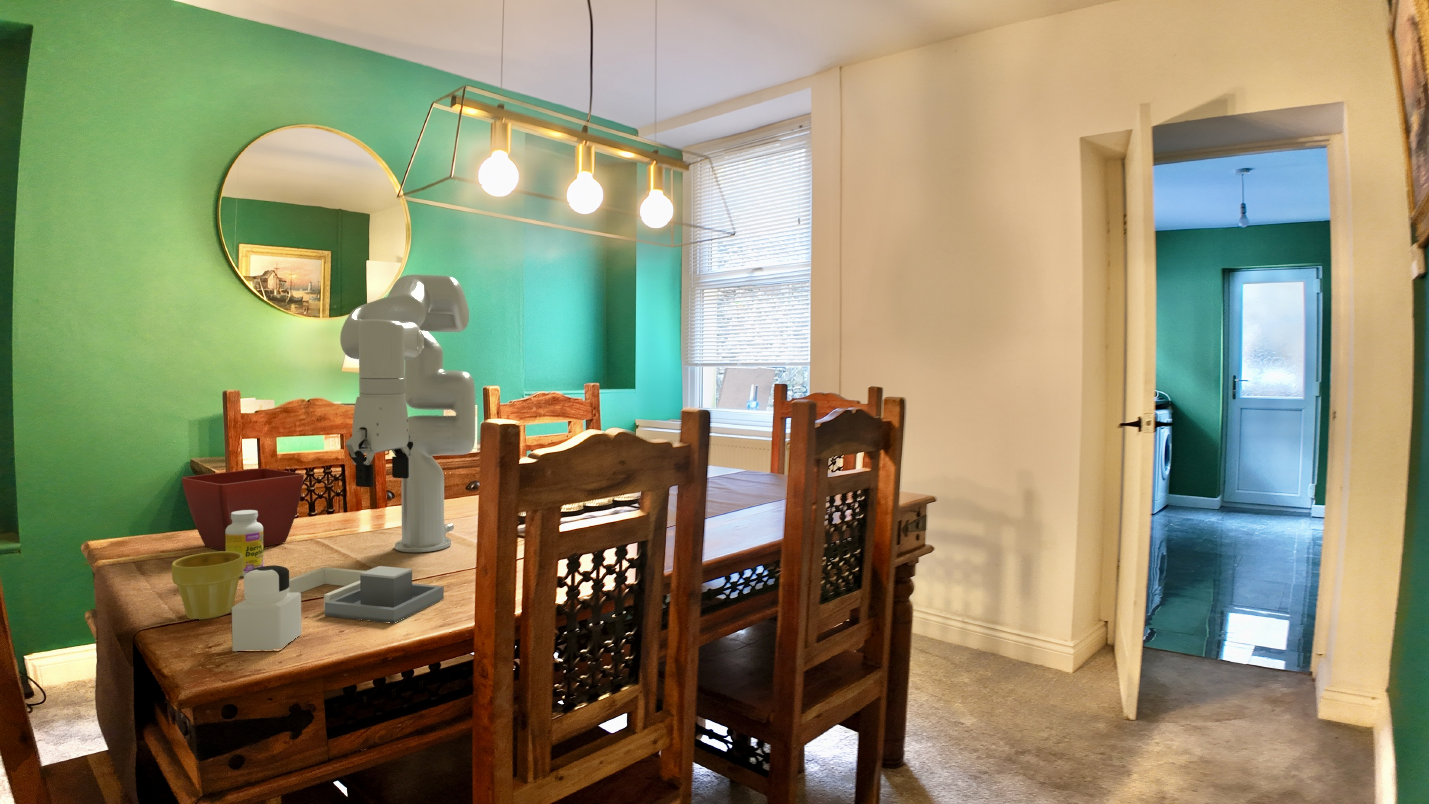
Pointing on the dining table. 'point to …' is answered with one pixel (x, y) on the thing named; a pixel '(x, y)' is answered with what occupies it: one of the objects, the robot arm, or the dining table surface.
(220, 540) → the plant pot
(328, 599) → the bay
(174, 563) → the plant pot
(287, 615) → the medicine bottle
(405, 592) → the gray block
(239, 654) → the dining table surface
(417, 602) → the tray
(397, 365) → the robot arm
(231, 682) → the dining table surface
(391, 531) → the dining table surface
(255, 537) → the supplement bottle
